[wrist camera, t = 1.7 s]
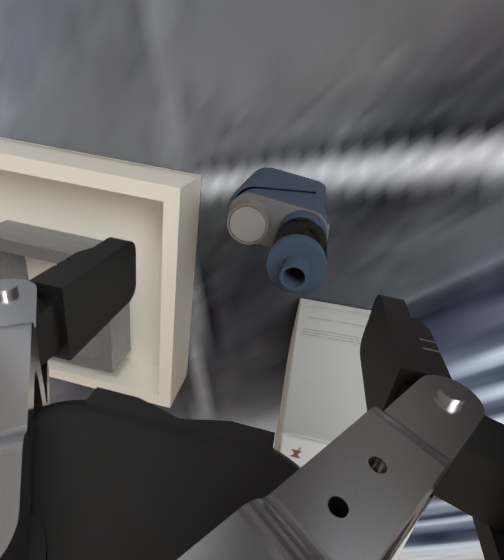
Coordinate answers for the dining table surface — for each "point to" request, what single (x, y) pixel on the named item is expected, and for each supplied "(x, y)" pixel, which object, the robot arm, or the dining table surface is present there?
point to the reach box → (123, 225)
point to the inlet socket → (55, 248)
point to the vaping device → (283, 226)
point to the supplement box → (322, 380)
